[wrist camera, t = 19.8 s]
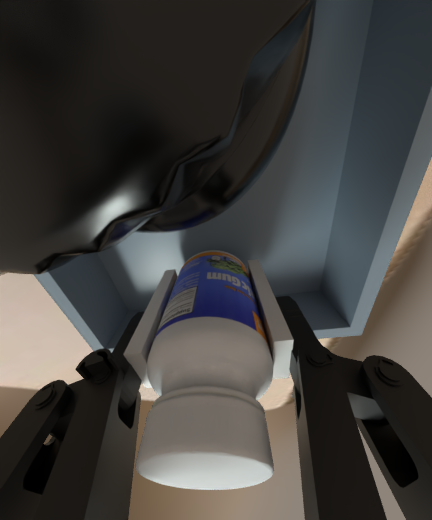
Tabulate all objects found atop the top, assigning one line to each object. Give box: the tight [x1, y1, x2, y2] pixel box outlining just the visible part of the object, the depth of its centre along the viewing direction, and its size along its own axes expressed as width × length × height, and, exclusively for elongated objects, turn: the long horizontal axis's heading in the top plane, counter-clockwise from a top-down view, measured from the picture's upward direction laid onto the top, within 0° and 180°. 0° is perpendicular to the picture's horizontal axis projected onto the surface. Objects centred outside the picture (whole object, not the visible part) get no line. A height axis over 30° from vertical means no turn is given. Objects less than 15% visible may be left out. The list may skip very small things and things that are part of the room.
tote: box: [33, 0, 432, 353], centre depth 11 cm, size 20×21×5 cm
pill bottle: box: [136, 250, 274, 490], centre depth 9 cm, size 5×5×10 cm
